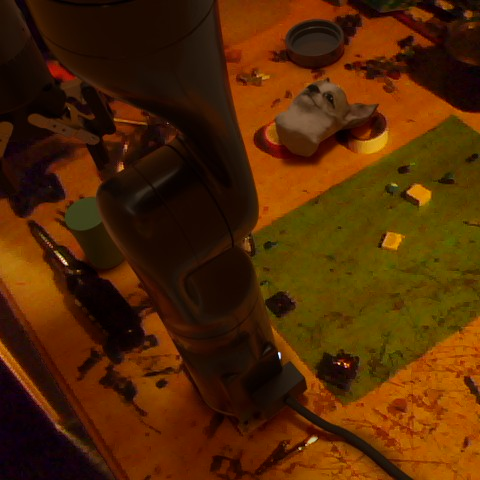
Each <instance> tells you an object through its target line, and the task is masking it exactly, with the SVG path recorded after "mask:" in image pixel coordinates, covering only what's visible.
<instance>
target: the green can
mask: <svg viewBox="0 0 480 480" xmlns="http://www.w3.org/2000/svg"><path fill="white" fill-rule="evenodd" d="M64 222H65V225H66V226H67V228H68V229H69V231H70V233H71V234H72V236H73V237H74V239H75V240H76V242H77V244H78V245H79V247H80V248H81V250H82V251H83V253H84V254H85V256H86V258H87V260H88V261H89V263H90V265H92V266H93V267H94V268H96V269H99V270H109V269H112V268H115V267H117V266H118V265H120V264H121V263H122V262H123V261H124V260H125V258H124V257H123V255H122V254H121V252H120V251H119V249H118V248H117V246H116V245H115V243H114V242H113V240H112V238H111V237H110V235H109V233H108V232H107V230H106V228H105V226H104V224H103V222H102V220H101V217H100V215H99V212H98V208H97V204H96V196H87V197H82V198H81V199H78V200H76V201H74V202H73V203H72V204H71V205H70V206H69V207H68V208H67V210H66V211H65V214H64Z"/></svg>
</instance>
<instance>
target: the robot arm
mask: <svg viewBox="0 0 480 480" xmlns="http://www.w3.org/2000/svg"><path fill="white" fill-rule="evenodd" d="M24 2H25V5H26V7H27V9H28V11H29V13H30V15H31V18H32V19H33V22H34V25H35V27H36V29H37V31H38V33H39V35H40V36H41V39H42V41H43V43H44V44H45V46H46V47H47V48H48V50H49V52H50V53H51V55H52V56H53V57H54V58H55V59H56V60H57V61H58V62H59V63H60V64H61V65H62V66H63V67H64V68H65V69H67V71H69V73H71V74H72V75H74V76H75V78H72V79H69V80H66V81H61V80H59V79H58V78H56V77H55V76H54V75H53V73H52V72H51V70H50V68H49V66H48V64H47V62H46V60H45V59H44V58H45V57H44V56H43V54H42V52H41V50H40V49H39V46H38V45H37V43H36V40H35V38H34V36H33V35H32V33H31V31H30V29H29V27H28V25H27V21H26V17H25V16H24V14H23V12H22V10H21V9H20V8H19V7H18V5H17V2H16V1H15V0H0V191H2V192H3V193H5V192H8V194H9V195H10V196H15V195H18V194H20V182H19V179H18V176H17V175H16V174H15V172H14V170H13V169H12V167H11V166H10V164H9V163H8V161H7V160H6V158H5V157H4V154H5V151H6V149H7V146H8V143H9V142H15V144H16V145H19V144H22V143H26V142H28V141H29V140H32V139H34V138H44V137H48V136H52V132H53V133H55V134H57V135H60V136H62V137H65V138H66V139H68V140H69V139H70V140H71V139H73V138H75V139H76V140H79V141H81V142H82V143H85V146H86V149H87V151H88V153H89V155H90V156H91V158H92V161H93V163H94V165H95V166H96V169H97V171H98V172H102V171H106V170H107V165H108V164H110V160H111V158H110V153H109V148H108V146H107V145H106V141H105V139H104V138H103V137H104V136H106V135H107V136H111V135H112V136H113V135H114V134H116V133H117V125H116V122H115V119H114V117H115V115H114V111H113V109H112V107H111V105H110V103H109V101H108V100H107V97H106V96H108V97H110V98H112V99H114V100H116V101H119V102H121V103H123V104H125V105H127V106H130V107H132V108H135V109H137V110H139V111H142V112H144V113H147V114H149V115H151V116H153V117H156V118H158V119H160V120H162V121H164V122H165V123H167V124H168V125H170V126H171V127H173V128H175V129H176V133H175V135H174V137H173V138H172V140H170V141H169V142H167V143H165V144H164V145H162V146H160V147H159V148H157V149H154V150H153V151H152V152H150V153H148V154H147V155H145V156H143V157H142V158H141V157H140V159H138V160H136V161H134V162H133V163H131V164H129V165H128V166H126V167H125V168H123V169H121V170H120V171H118V172H116V173H114V174H112V175H111V176H109V177H108V178H106V179H105V180H103V181H102V182H101V183H100V184H99V186H98V187H97V190H96V193H95V197H96V204H97V208H98V212H99V215H100V217H101V220H102V222H103V224H104V226H105V228H106V230H107V232H108V233H109V235H110V237H111V238H112V240H113V242H114V243H115V245H116V246H117V248H118V249H119V251H120V252H121V254H122V255H123V257H124V258H125V259H124V260H125V261H126V263H127V264H128V266H129V267H130V269H131V270H132V271H133V273H134V275H135V276H136V277H137V279H138V281H139V283H140V284H141V286H142V288H143V290H144V291H145V294H146V295H147V297H148V299H149V300H150V302H151V304H152V306H153V308H154V309H155V311H156V315H158V318H159V320H160V321H161V322H162V324H163V326H164V328H165V330H166V332H167V334H168V336H169V338H170V340H171V342H172V343H173V346H174V347H175V349H176V350H177V352H178V354H179V356H180V358H181V360H182V362H183V364H184V365H185V368H186V369H187V371H188V373H189V374H190V375H189V381H190V382H191V384H193V383H194V384H195V385H196V387H197V389H198V392H199V394H200V396H201V398H202V400H203V401H204V403H205V404H206V405H207V406H208V407H209V408H210V409H212V410H213V411H214V412H216V413H218V414H220V415H223V416H225V417H226V416H227V417H233V418H234V417H235V418H236V419H237V420H238V421H239V422H240V423H241V424H244V423H246V422H248V420H250V419H251V418H252V417H253V416H255V415H256V414H258V413H261V414H262V416H263V417H264V418H265V419H266V421H269V420H271V419H272V418H273V417H274V416H275V415H277V414H278V413H279V412H281V411H282V410H283V409H285V408H286V407H289V408H290V409H291V410H293V411H294V412H295V413H297V414H298V415H300V416H301V417H302V418H303V419H305V420H306V421H308V422H309V423H311V424H313V425H314V426H316V427H317V428H319V429H321V430H323V431H325V432H327V433H330V434H332V435H335V436H337V437H339V438H342V439H344V440H345V441H347V442H349V443H351V444H352V445H354V446H355V447H357V448H358V449H359V450H361V452H363V453H365V454H366V455H367V456H369V458H370V459H373V461H374V462H376V463H377V464H378V465H380V467H382V469H384V470H385V471H387V472H388V473H389V474H390V475H391V476H392V477H394V478H395V479H396V480H415V479H414V478H413V477H411V476H410V475H409V474H408V473H406V472H405V471H403V470H402V469H401V468H399V467H398V466H397V465H395V464H394V463H393V462H391V461H390V460H389V459H388V458H387V457H386V456H385V455H383V453H381V452H380V451H379V450H377V449H376V448H375V447H374V446H373V445H371V444H370V443H368V442H367V441H365V440H364V439H363V438H361V437H360V436H358V435H357V434H355V433H353V432H352V431H350V430H349V429H347V428H344V427H342V426H339V425H336V424H334V423H332V422H329V421H327V420H326V419H324V418H322V417H320V416H319V415H318V414H316V413H315V412H314V411H311V410H310V409H309V408H308V407H306V406H304V405H303V404H301V403H300V402H299V401H298V400H296V399H297V398H298V397H300V396H301V395H302V394H304V393H305V392H306V391H307V390H308V389H309V388H308V383H307V380H306V377H305V375H304V374H303V373H302V372H301V371H300V370H299V369H298V368H297V366H296V365H295V364H294V363H293V361H291V360H288V361H287V362H286V363H283V359H282V356H281V352H279V349H278V346H277V342H276V339H275V335H274V332H273V331H274V330H273V327H272V325H271V320H270V317H269V314H268V311H267V307H266V304H265V300H264V295H263V293H262V289H261V285H260V281H259V278H258V275H257V272H256V268H255V265H254V263H253V260H252V258H251V256H250V255H249V254H248V253H247V252H246V250H245V249H243V247H242V246H241V245H239V244H240V243H242V242H243V241H244V240H245V239H246V238H247V237H248V236H249V235H250V234H251V233H252V232H253V231H254V229H255V228H256V227H257V225H258V222H259V218H260V217H259V216H260V202H259V201H260V200H259V194H258V189H257V186H256V185H257V184H256V182H255V178H254V174H253V169H252V167H251V163H250V159H249V156H248V152H247V149H246V145H245V141H244V138H243V134H242V131H241V127H240V123H239V119H238V115H237V111H236V107H235V102H234V97H233V93H232V87H231V82H230V76H229V69H228V64H227V57H226V51H225V44H224V38H223V31H222V30H223V29H222V23H221V22H222V21H221V13H220V4H219V0H24ZM105 95H106V96H105ZM69 97H71V98H74V99H76V101H77V102H79V103H80V104H81V105H87V106H88V107H89V110H90V112H91V113H92V114H93V116H94V117H91V116H90V115H87V114H85V113H83V112H80V111H79V110H78V108H77V107H76V106H74V105H73V104H71V103H68V102H67V99H68V98H69ZM61 118H62V119H61Z"/></svg>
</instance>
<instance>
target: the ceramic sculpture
mask: <svg viewBox="0 0 480 480" xmlns="http://www.w3.org/2000/svg"><path fill="white" fill-rule="evenodd" d="M379 106H380V103H374V104H366V103H361V102H355V103H349V101H348V97H347V94H346V92H345V90H343V89H342V88H341V87H340V86H339V85H337V84H336V83H334V82H331V80H330V77H326V78H325V79H323V80H315V81H313V82H312V83H310V84H308V85H307V86H306V87H305V88H304V89H302V90H301V91H300V92H299V93H298V94H297V95H296V96H295V97H294V99H293V100H292V102H291V103H290V104H289V106H288V108H287V109H286V110H285V111H282V112H279V113H278V114H276V115H275V116H274V117H275V118H274V119H273V121H274V125H275V131H276V134H277V138H278V139H279V141H280V142H282V144H283V145H284V146H285V148H286V147H287V148H286V150H288V151H289V152H290V153H292V154H293V155H297V156H303V157H306V158H307V157H311V156H313V154H315V152H316V151H317V150H318V147H319V144H320V143H321V142H323V141H324V140H327V139H328V138H329V137H331V136H332V135H334V134H335V133H337V132H339V131H344V130H348V129H354V128H358V127H361V126H362V125H365V123H367V122H368V121H369V120H370V119H371V118H372V117H373V116H374V114H375V112H376V110H377V109H378V108H379Z"/></svg>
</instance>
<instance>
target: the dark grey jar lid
mask: <svg viewBox="0 0 480 480" xmlns="http://www.w3.org/2000/svg"><path fill="white" fill-rule="evenodd" d="M284 40H285V41H284V42H285V48H286V54H287V56H288V57H289V59H290V60H291V61H293V62H294V63H295V64H297V65H299V66H302V67H304V68H313V69H314V68H323V67H326V66H329V65H332V64H333V63H334V62H336V61H337V60H338V59H339V58H340V57H341V56H342V54H343V52H344V50H345V46H346V45H345V33H344V30H343V29H342V27H341V26H340V25H338V24H337V22H334V21H332V20H329V19H323V18H311V19H306V20H304V21H300V22H298V23H297V24H294V25H293V26H292V27H291V28H289V30H288V31H287V32H286V35H285V39H284Z"/></svg>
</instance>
